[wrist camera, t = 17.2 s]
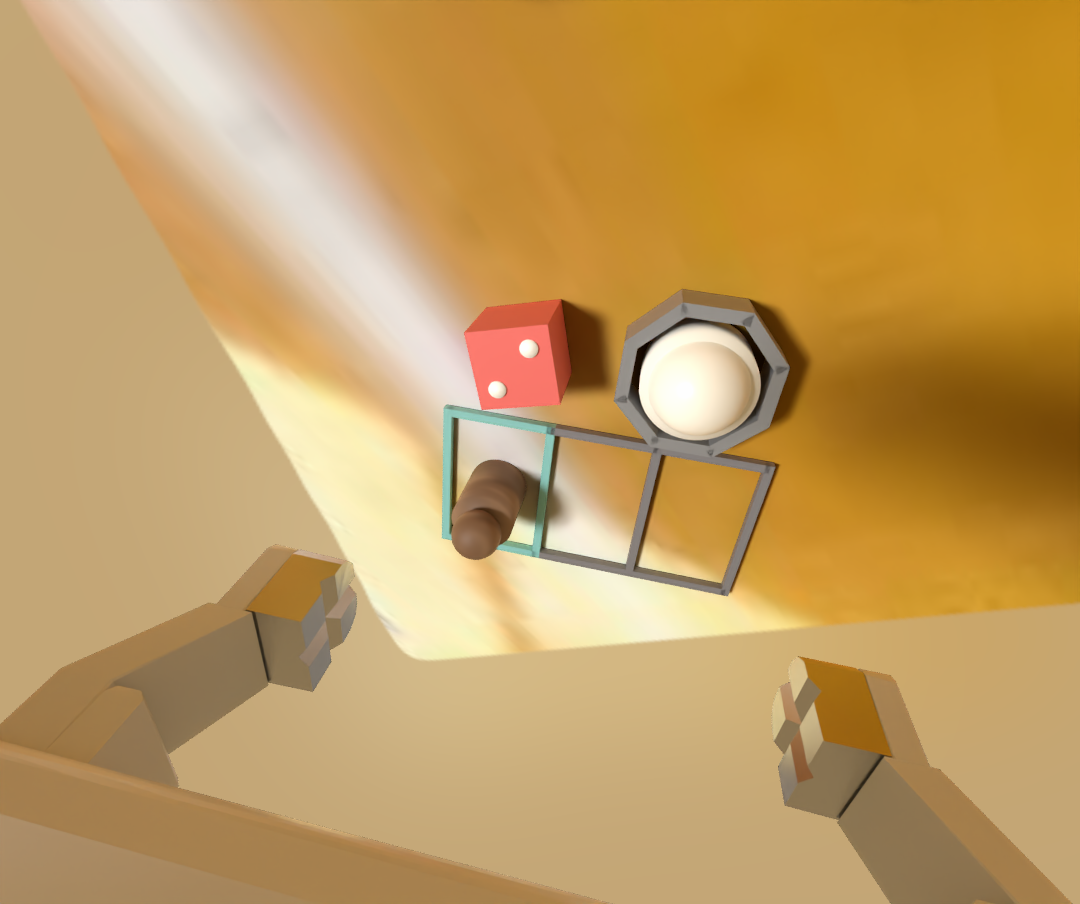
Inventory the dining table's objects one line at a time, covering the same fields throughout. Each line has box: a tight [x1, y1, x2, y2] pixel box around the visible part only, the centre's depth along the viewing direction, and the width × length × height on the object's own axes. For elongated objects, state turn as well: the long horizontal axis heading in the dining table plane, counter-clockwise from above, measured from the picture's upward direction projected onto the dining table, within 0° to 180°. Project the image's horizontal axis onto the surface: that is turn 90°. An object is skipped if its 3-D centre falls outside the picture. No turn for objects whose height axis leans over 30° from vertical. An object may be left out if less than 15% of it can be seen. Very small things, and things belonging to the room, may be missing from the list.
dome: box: [639, 318, 761, 440], centre depth 35 cm, size 7×7×6 cm
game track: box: [442, 405, 776, 596], centre depth 44 cm, size 23×12×1 cm, turn 84°
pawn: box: [451, 460, 527, 560], centre depth 42 cm, size 4×4×8 cm
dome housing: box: [614, 289, 790, 458], centre depth 37 cm, size 10×10×3 cm
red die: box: [464, 299, 572, 410], centre depth 37 cm, size 5×5×5 cm
